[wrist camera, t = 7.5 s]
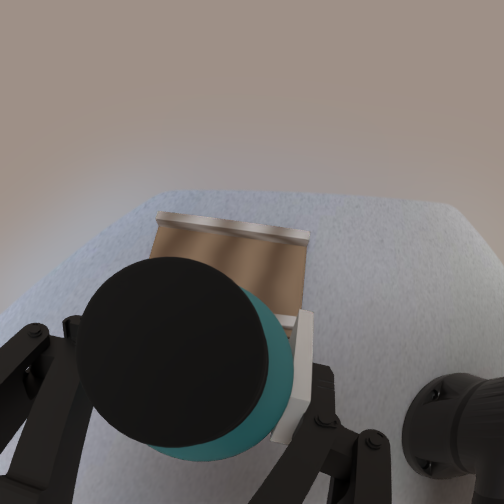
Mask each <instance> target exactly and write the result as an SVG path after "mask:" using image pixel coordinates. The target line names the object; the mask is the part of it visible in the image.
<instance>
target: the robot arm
mask: <svg viewBox="0 0 504 504" xmlns="http://www.w3.org/2000/svg"><path fill="white" fill-rule="evenodd" d="M313 313H314V312H310V311H306V310H302V309H299V312H298V315H297V318H296V321H295V324H294V327H293V330H292V333H291V336H290V339H289V343H290V346H291V350H292V355H293V363H294V380H293V387H292V392H291V396H290V399H289V402H288V405H287V407H286V409H285V411H284V413H283V415H282V417H281V419H280V420H279V421H278V423H277V424H276V426H275V427H274V428H273V429H272V433H271V438H270V441H272V442H277V443H281V444H286V445H288V447H287V448H286V450H285V452H284V453H283V455H282V456H281V458H280V459H279V461H278V462H277V464H276V465H275V466H274V468H273V469H272V471H271V472H270V474H269V475H268V477H267V478H266V479H265V481H264V482H263V484H262V485H261V486H260V488H259V489H258V491H257V492H256V493H255V495H254V496H253V497H252V499H251V500H250V501H249V503H248V504H302V503H303V501H304V499H305V497H306V495H307V494H308V492H309V490H310V488H311V486H312V484H313V482H314V481H315V479H316V477H317V475H318V473H319V471H320V472H323V473H325V474H327V475H330V476H331V478H330V485H329V492H328V498H327V504H392V490H391V454H390V443H389V440H388V438H387V437H386V436H385V435H384V434H383V433H381V432H380V431H377V430H372V429H368V430H365V431H363V432H361V433H360V434H358V433H355V432H353V431H351V430H349V429H347V428H345V427H344V426H342V425H341V422H340V420H339V418H338V416H337V415H336V414H335V391H334V374H333V372H332V370H331V369H330V367H329V366H325V365H321V364H316V363H312V357H313ZM81 317H82V316H80V315H74V316H69V317H67V318H65V319H64V320H63V321H62V323H63V331H64V338H61V337H56V336H51V335H50V334H49V329H48V328H47V326H45V325H44V324H40V323H31V324H28V325H26V326H25V327H23V328H22V329H21V330H20V331H19V332H18V333H17V334H15V335H14V336H13V337H12V338H11V339H10V340H9V341H8V342H6V343H5V344H4V345H3V346H2V347H1V348H0V454H1V453H2V451H3V450H4V449H5V447H6V446H7V444H8V443H9V442H10V440H11V439H12V438H13V436H14V435H15V434H16V432H17V431H18V429H19V428H20V427H21V425H22V424H23V423H24V422H25V420H26V419H27V421H26V423H25V426H24V428H23V431H22V433H21V436H20V439H19V441H18V444H17V447H16V450H15V452H14V455H13V458H12V461H11V464H10V467H9V470H8V472H7V474H6V475H0V504H72V500H73V494H74V489H75V483H76V478H77V473H78V468H79V463H80V459H81V454H82V450H83V445H84V441H85V437H86V433H87V429H88V425H89V421H90V417H91V413H92V409H93V405H92V403H91V402H90V400H89V398H88V397H87V395H86V393H85V391H84V389H83V386H82V384H81V381H80V378H79V374H78V370H77V364H76V352H75V348H76V336H77V331H78V327H79V324H80V320H81ZM28 367H29V368H28ZM27 368H28V369H27ZM26 369H27V370H26ZM291 439H292V441H291ZM290 441H291V442H290ZM289 443H290V444H289ZM402 443H403V450H404V454H405V457H406V459H407V461H408V463H409V464H410V466H411V467H412V468H413V469H414V470H415V471H416V472H417V473H419V474H421V475H423V476H426V477H429V478H433V479H450V478H454V477H458V476H462V475H466V474H469V473H471V474H476V482H475V488H474V493H473V498H472V503H471V504H504V377H499V378H494V379H490V380H486V379H483V378H480V377H477V376H474V375H471V374H467V373H454V374H449V375H444V376H441V377H439V378H436V379H435V380H433V381H431V382H430V383H429V384H427V385H426V386H425V387H424V388H423V389H422V390H421V391H420V392H419V393H418V395H417V396H416V398H415V399H414V401H413V402H412V404H411V406H410V408H409V410H408V413H407V415H406V418H405V422H404V426H403V434H402Z"/></svg>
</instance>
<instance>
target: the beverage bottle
mask: <svg viewBox="0 0 504 504" xmlns="http://www.w3.org/2000/svg"><path fill="white" fill-rule="evenodd" d="M75 352H76V364H77V370H78V374H79V378H80V381H81V384H82V386H83V389H84V391H85V393H86V395H87V397H88V398H89V400H90V402H91V403H92V405H93V406H94V408H95V409H96V410H97V411H98V413H99V414H100V415H101V416H102V417H103V418H104V419H105V420H106V421H107V422H108V423H109V424H110V425H112V426H113V427H114V428H115V429H117V430H118V431H119V432H121V433H123V434H124V435H126V436H128V437H129V438H132V439H134V440H136V441H139V442H141V443H144V444H147V445H148V446H150V447H152V448H153V449H155V450H157V451H159V452H161V453H163V454H166V455H168V456H171V457H174V458H178V459H182V460H188V461H215V460H222V459H226V458H229V457H233V456H235V455H238V454H240V453H242V452H245V451H246V450H248V449H250V448H251V447H253V446H255V445H256V444H258V443H259V442H260V441H261V440H262V439H264V438H265V437H266V436H267V435H268V434H269V433H270V432H271V431H272V429H273V428H274V427H275V426H276V424H277V423H278V421H279V420H280V419H281V417H282V415H283V413H284V411H285V409H286V407H287V405H288V402H289V399H290V396H291V392H292V387H293V380H294V363H293V355H292V350H291V346H290V343H289V341H288V338H287V335H286V333H285V331H284V329H283V327H282V325H281V324H280V322H279V321H278V319H277V318H276V316H275V315H274V314H273V312H272V311H271V310H270V309H269V308H268V307H267V306H266V305H265V304H264V303H263V302H262V301H261V300H260V299H259V298H257V297H256V296H255V295H253V294H252V293H251V292H249V291H247V290H245V289H244V288H242V287H240V286H238V285H237V284H236V283H235V282H234V281H233V280H232V279H230V278H229V277H228V276H226V275H225V274H224V273H222V272H220V271H219V270H217V269H215V268H213V267H212V266H210V265H207V264H205V263H202V262H200V261H196V260H192V259H189V258H182V257H156V258H151V259H146V260H142V261H139V262H136V263H134V264H132V265H129V266H127V267H125V268H123V269H122V270H120V271H119V272H117V273H115V274H114V275H113V276H112V277H110V278H109V279H108V280H106V281H105V282H104V283H103V284H102V286H101V287H100V288H99V289H98V290H97V291H96V293H95V294H94V295H93V297H92V298H91V300H90V301H89V303H88V305H87V306H86V308H85V311H84V313H83V315H82V317H81V320H80V324H79V327H78V331H77V336H76V348H75Z"/></svg>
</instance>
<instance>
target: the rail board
mask: <svg viewBox="0 0 504 504" xmlns="http://www.w3.org/2000/svg"><path fill="white" fill-rule="evenodd" d="M156 221H157V223H158V226H159V227H158V230H157V234H156V237H155V240H154V244H153V247H152V250H151V254H150V257H149V259H151V258H156V257H182V258H189V259H192V260H196V261H200V262H202V263H205V264H207V265H210V266H212V267H213V268H215V269H217V270H219V271H220V272H222V273H224V274H225V275H226V276H228V277H229V278H230V279H232V280H233V281H234V282H235V283H236V284H237V285H238V286H240V287H242V288H244V289H245V290H247V291H249V292H251V293H252V294H253V295H255V296H256V297H257V298H259V299H260V300H261V301H262V302H263V303H264V304H265V305H266V306H267V307H268V308H269V309H270V310H271V311H272V312H273V314H274V315H275V316H276V318H277V319H278V321H279V322H280V324H281V325H282V327H283V329H284V331H285V333H286V335H287V338H288V339H290V336H291V333H292V330H293V327H294V324H295V321H296V318H297V315H298V312H299V309H301V306H302V296H303V285H304V274H305V262H306V249H307V245H308V242H309V240H310V231H303V230H296V229H290V228H283V227H276V226H269V225H262V224H255V223H247V222H240V221H233V220H225V219H218V218H210V217H202V216H194V215H187V214H178V213H170V212H162V211H158V213H157V216H156Z"/></svg>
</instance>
